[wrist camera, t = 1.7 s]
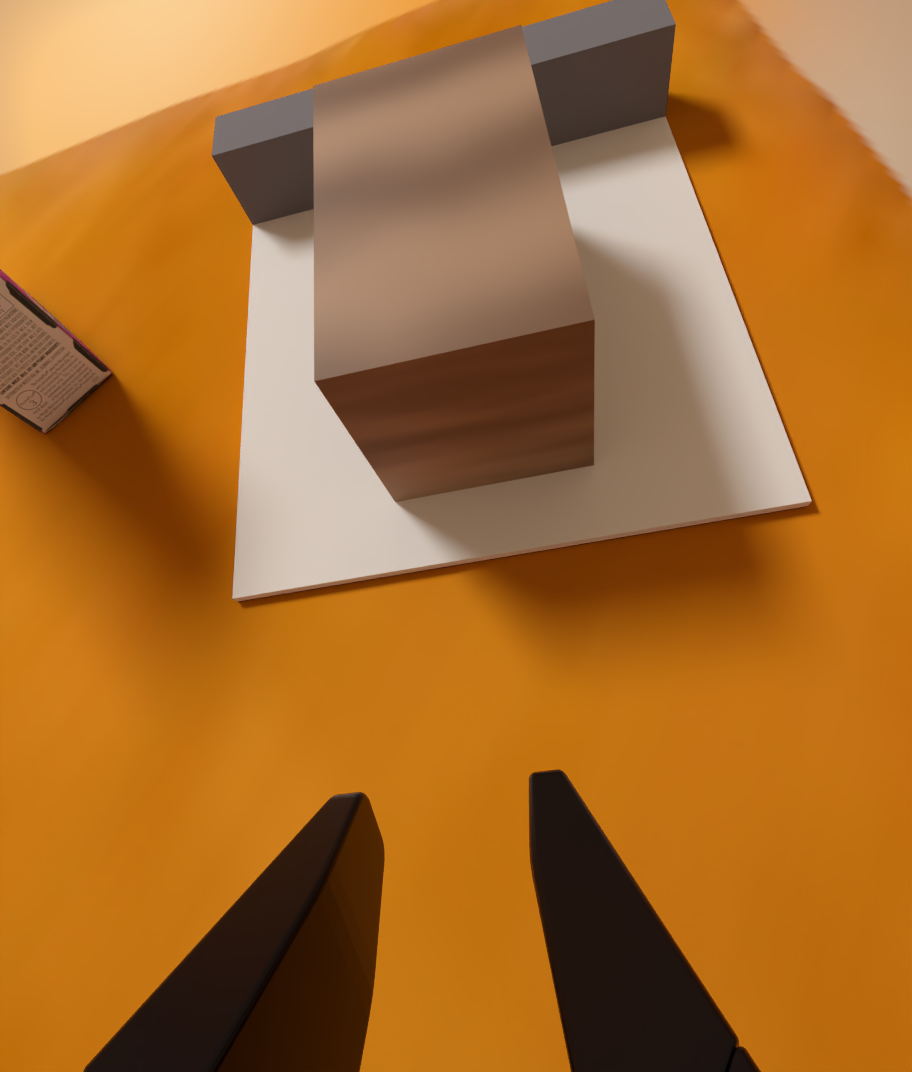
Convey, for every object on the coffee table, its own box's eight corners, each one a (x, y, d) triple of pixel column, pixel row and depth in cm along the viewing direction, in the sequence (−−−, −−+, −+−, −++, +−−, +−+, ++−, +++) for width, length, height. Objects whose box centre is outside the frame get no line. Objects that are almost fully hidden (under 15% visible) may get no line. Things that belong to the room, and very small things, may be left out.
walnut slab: (593, 465, 24) (594, 319, 16) (395, 502, 25) (314, 381, 18) (538, 214, 29) (521, 24, 22) (379, 254, 30) (313, 85, 23)
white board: (808, 505, 22) (856, 441, 18) (237, 601, 25) (170, 564, 21) (648, 82, 32) (656, -20, 28) (258, 188, 35) (216, 111, 31)
